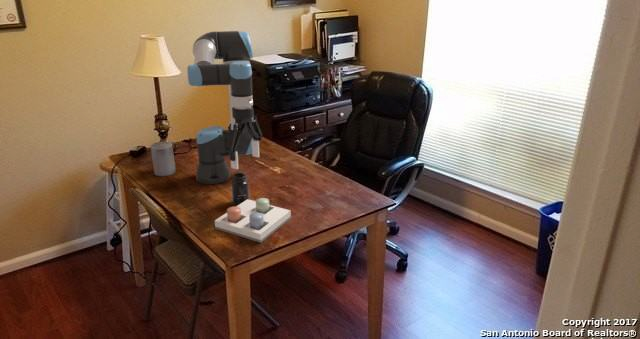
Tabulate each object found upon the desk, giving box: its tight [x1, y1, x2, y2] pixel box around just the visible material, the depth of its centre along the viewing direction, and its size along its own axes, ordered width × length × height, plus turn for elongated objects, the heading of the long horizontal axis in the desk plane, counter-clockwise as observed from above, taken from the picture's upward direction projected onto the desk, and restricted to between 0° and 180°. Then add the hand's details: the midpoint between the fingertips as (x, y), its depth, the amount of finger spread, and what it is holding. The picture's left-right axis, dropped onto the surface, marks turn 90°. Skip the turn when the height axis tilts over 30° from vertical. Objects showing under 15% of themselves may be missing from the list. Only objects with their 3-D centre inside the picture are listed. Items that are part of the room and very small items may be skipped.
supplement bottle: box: [230, 172, 250, 206], centre depth 188 cm, size 7×7×12 cm
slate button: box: [249, 213, 264, 229], centre depth 166 cm, size 5×5×4 cm
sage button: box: [255, 197, 270, 213], centre depth 177 cm, size 5×5×4 cm
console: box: [214, 198, 292, 244], centre depth 173 cm, size 20×20×3 cm
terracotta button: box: [226, 206, 241, 223], centre depth 170 cm, size 5×5×4 cm
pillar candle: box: [149, 141, 177, 177], centre depth 215 cm, size 10×10×15 cm
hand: (245, 162), depth 174 cm, fingers open, 13 cm apart
